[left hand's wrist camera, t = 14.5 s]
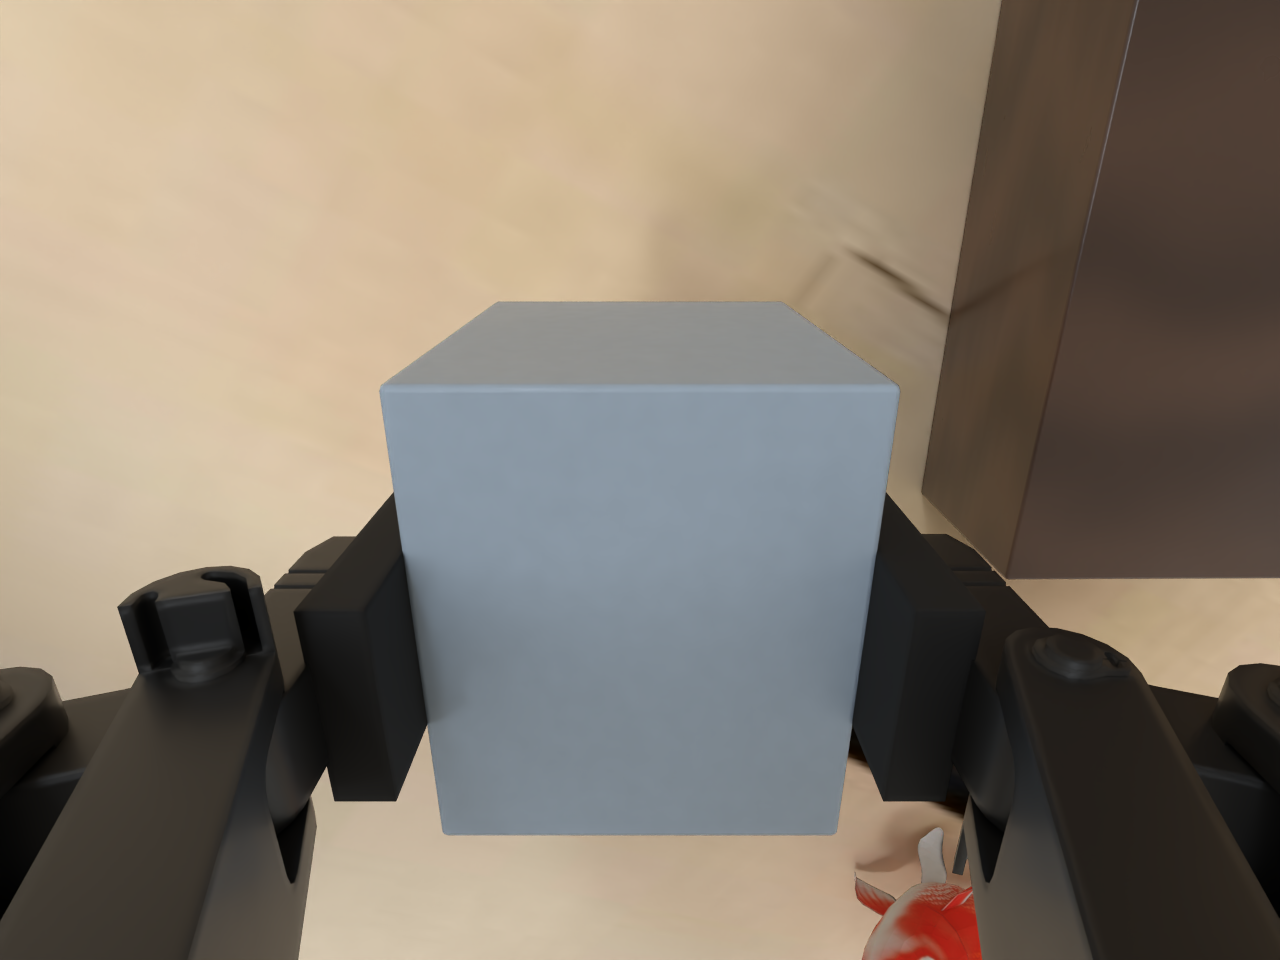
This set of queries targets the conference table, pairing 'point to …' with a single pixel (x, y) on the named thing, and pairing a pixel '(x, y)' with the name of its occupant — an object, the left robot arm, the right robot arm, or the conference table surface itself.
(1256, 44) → the walnut base
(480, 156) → the conference table surface
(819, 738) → the cap block
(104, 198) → the conference table surface
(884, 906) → the fish
